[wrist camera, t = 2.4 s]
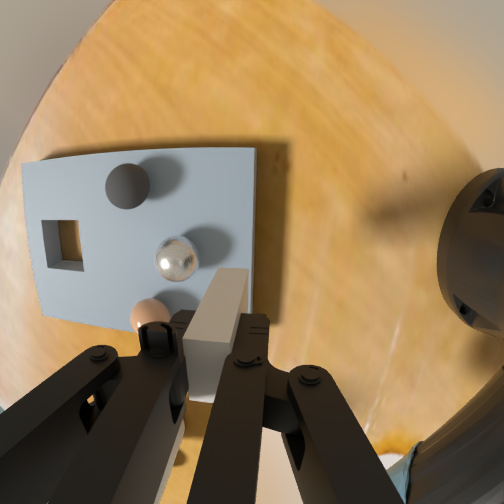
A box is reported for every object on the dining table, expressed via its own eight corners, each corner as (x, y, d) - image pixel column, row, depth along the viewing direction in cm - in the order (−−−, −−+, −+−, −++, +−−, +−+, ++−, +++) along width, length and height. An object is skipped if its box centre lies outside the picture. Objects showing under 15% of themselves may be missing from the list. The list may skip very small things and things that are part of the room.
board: (257, 148, 23) (254, 147, 20) (252, 329, 27) (249, 344, 25) (38, 161, 24) (21, 163, 22) (56, 305, 29) (42, 315, 26)
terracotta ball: (174, 293, 24) (160, 312, 21) (177, 328, 25) (165, 350, 22) (137, 290, 24) (120, 307, 21) (142, 324, 25) (126, 344, 22)
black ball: (156, 161, 21) (137, 162, 18) (157, 205, 22) (139, 213, 19) (118, 163, 22) (95, 165, 18) (119, 205, 22) (97, 213, 19)
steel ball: (204, 231, 22) (192, 243, 19) (205, 273, 23) (194, 291, 20) (162, 229, 23) (145, 241, 20) (164, 271, 24) (148, 287, 21)
